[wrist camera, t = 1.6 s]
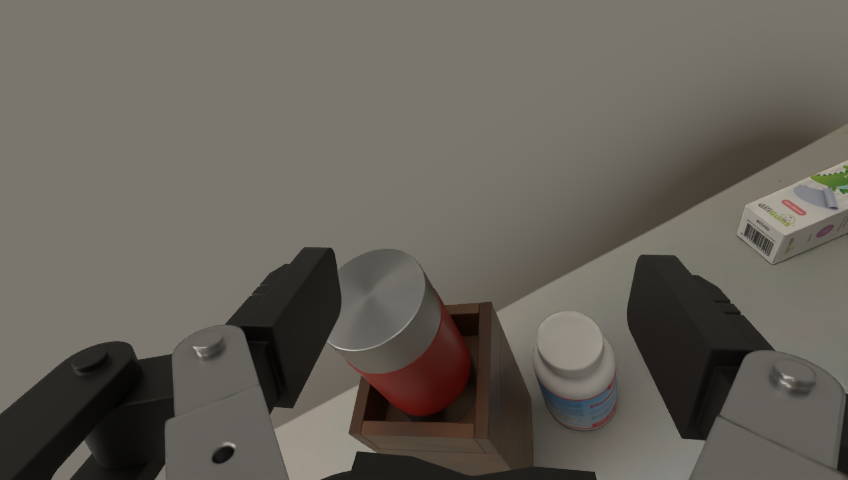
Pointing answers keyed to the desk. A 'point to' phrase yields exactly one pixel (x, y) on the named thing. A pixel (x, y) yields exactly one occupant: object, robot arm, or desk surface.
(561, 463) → the desk surface
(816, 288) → the desk surface
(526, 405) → the can holder
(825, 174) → the box
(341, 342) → the can
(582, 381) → the pill bottle
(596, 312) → the desk surface
